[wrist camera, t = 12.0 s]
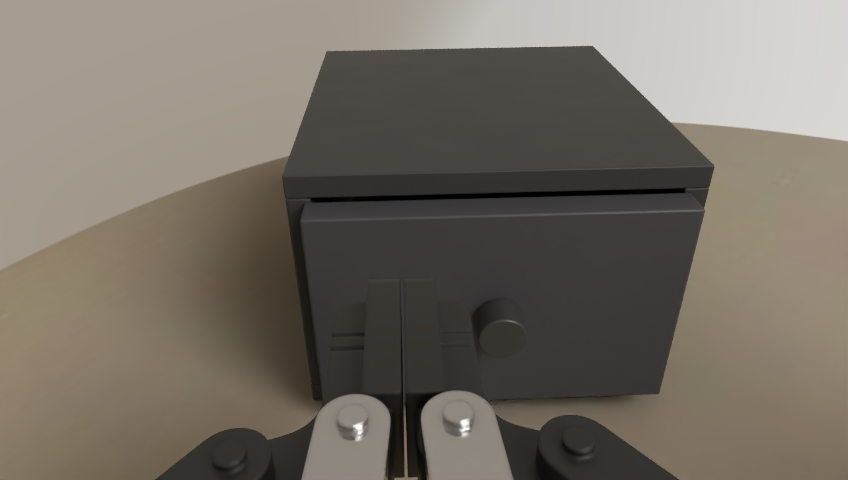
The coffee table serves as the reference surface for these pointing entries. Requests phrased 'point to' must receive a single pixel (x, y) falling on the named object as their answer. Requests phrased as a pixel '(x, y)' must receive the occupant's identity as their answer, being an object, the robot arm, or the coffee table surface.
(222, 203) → the coffee table surface
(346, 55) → the cabinet
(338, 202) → the drawer
